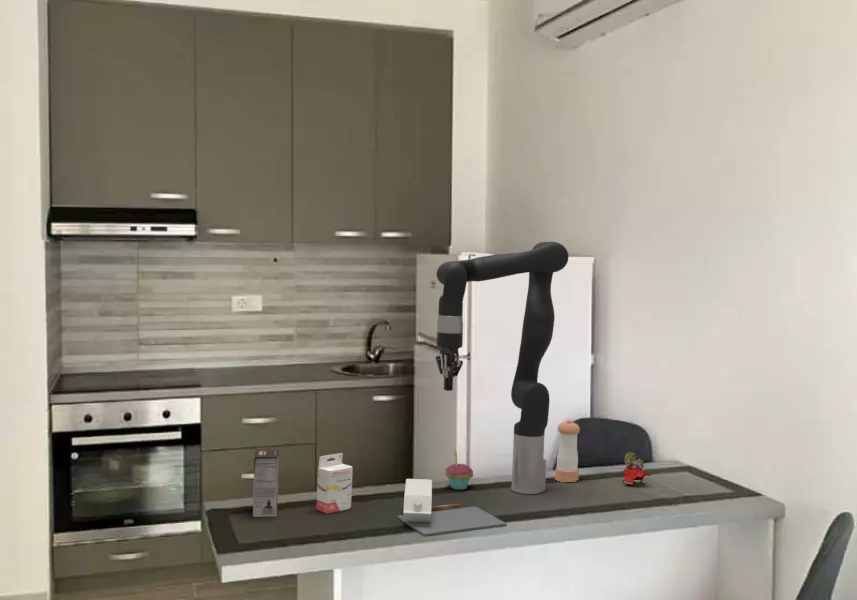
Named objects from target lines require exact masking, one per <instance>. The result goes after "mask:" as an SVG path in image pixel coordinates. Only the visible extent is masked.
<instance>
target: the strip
mask: <svg viewBox="0 0 857 600" xmlns="http://www.w3.org/2000/svg"><path fill="white" fill-rule="evenodd" d="M459 508H460V504H459V503H451V504H443V505H434V506H431V512H433V511H442V510H450V509H459Z"/></svg>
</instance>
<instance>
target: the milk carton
mask: <svg viewBox="0 0 857 600" xmlns="http://www.w3.org/2000/svg"><path fill="white" fill-rule="evenodd" d="M432 487H433V480H432V479H425V478H423V479H422V478H419V479H418V478H406V479H405V486H404V494H403V495H404V498H403V514H402V515H403V521H407V522H431V507H432V504H433V503H432V501H433V497H432V495H433V488H432ZM403 521H402V522H403Z"/></svg>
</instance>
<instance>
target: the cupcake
mask: <svg viewBox="0 0 857 600" xmlns="http://www.w3.org/2000/svg"><path fill="white" fill-rule="evenodd" d="M457 452H458V451H456V449H454V463H455V464H454V463H453V464H451V465H449V466H448V467H446V469H445V473H444V474H445V476H446V477H447V478H448V482H449V485H450V489H451V488H452V490H461V491H462V490H465V489H467V488H468V484H469V482H470V479H472V478H473V477H474V470H473V469H472V468H471V467H470V466H469V465H468V464H465V463H458V453H457Z"/></svg>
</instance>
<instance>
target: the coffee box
mask: <svg viewBox="0 0 857 600" xmlns="http://www.w3.org/2000/svg"><path fill="white" fill-rule="evenodd" d="M279 461H280V449H279V448H270V449H268V448H267V449H266V448H264V449H262V448H261V449H258V448H257V449H255V451H254V456H253V488H252V489H253V490H252V491H253V493H252V495H253V497H252V500H253V501H252V503H253V504H252V517H253V518H269V517H270V518H271V517H272V518H273V517H274V518H275V517H277V515H278V502H279V501H278V496H279V469H280V468H279V465H280V464H279V463H280V462H279Z"/></svg>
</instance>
